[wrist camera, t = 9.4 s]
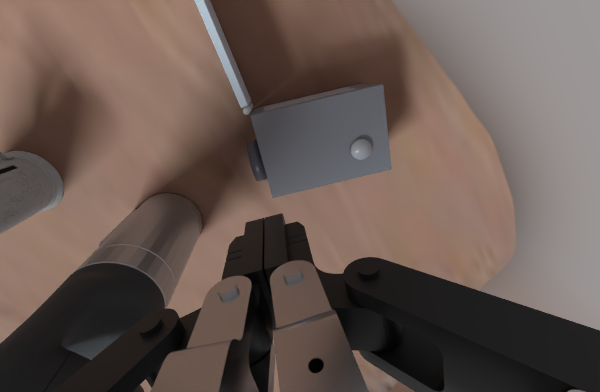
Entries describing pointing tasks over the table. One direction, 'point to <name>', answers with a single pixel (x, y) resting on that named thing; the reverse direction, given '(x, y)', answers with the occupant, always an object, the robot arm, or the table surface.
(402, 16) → the table surface
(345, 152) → the grey box with knob
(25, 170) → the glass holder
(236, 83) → the side door
